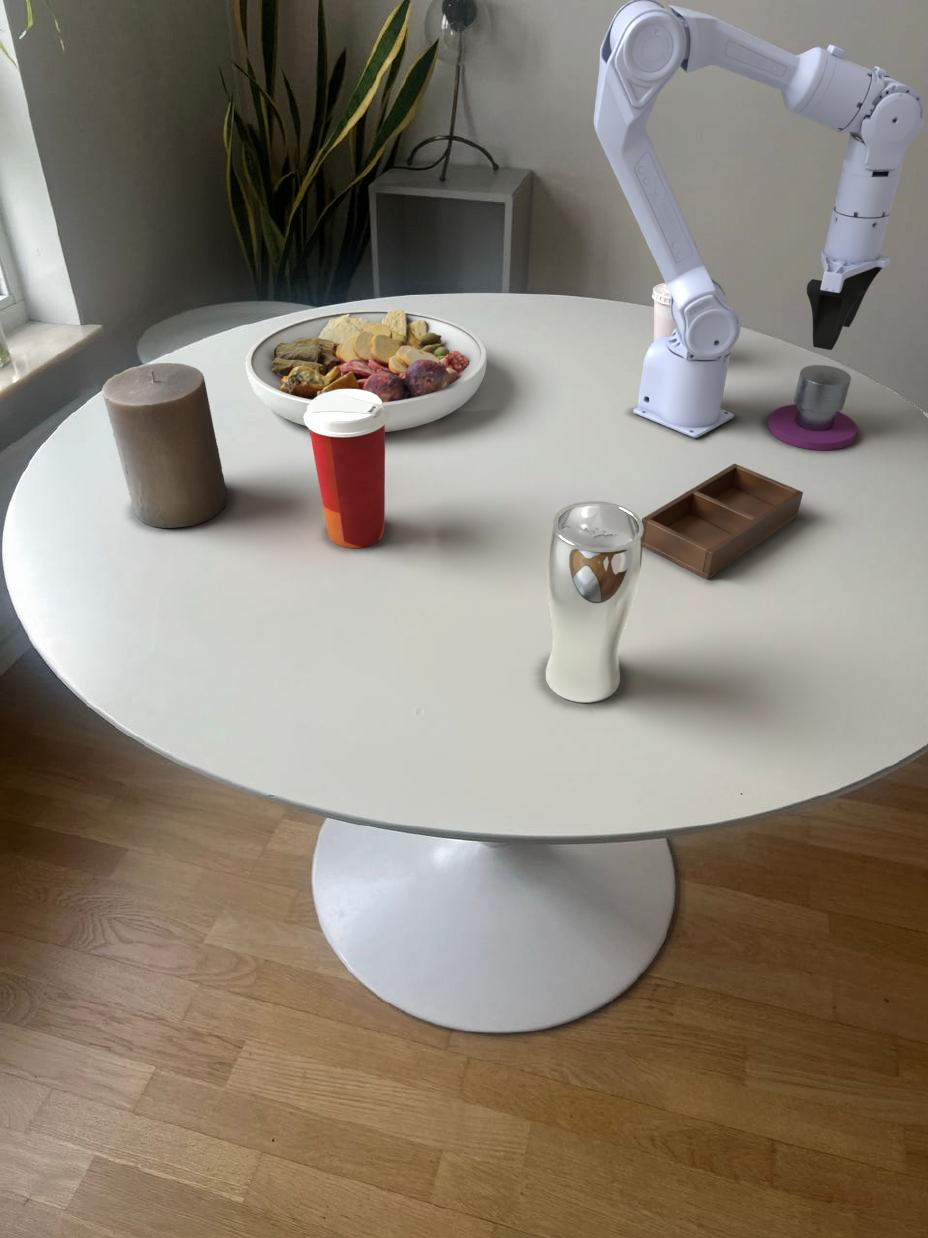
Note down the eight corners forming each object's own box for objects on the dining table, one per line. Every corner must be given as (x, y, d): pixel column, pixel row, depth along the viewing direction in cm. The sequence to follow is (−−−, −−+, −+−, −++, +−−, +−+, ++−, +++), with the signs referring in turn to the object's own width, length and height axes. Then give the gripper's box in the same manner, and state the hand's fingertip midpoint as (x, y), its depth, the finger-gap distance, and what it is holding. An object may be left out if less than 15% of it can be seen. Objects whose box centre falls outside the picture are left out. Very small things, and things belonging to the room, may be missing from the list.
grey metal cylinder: (780, 423, 110) (791, 375, 106) (802, 407, 113) (814, 360, 110) (824, 438, 107) (837, 389, 103) (846, 421, 110) (859, 374, 107)
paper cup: (406, 520, 96) (400, 392, 87) (376, 560, 90) (367, 428, 81) (336, 506, 98) (324, 381, 89) (303, 545, 92) (286, 415, 83)
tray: (638, 544, 92) (641, 518, 90) (729, 487, 101) (734, 462, 99) (707, 579, 87) (712, 553, 86) (797, 517, 96) (803, 491, 94)
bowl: (206, 386, 121) (195, 327, 116) (387, 327, 136) (385, 272, 131) (345, 472, 103) (339, 406, 98) (534, 393, 119) (537, 333, 114)
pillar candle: (245, 504, 98) (222, 369, 89) (163, 541, 93) (129, 401, 83) (196, 471, 103) (169, 341, 94) (115, 504, 98) (78, 369, 89)
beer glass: (534, 652, 79) (543, 501, 70) (615, 648, 80) (634, 497, 70) (546, 710, 74) (558, 553, 64) (633, 704, 74) (657, 548, 65)
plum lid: (751, 429, 111) (752, 421, 110) (795, 403, 116) (797, 396, 116) (827, 459, 105) (829, 451, 105) (870, 430, 111) (873, 423, 110)
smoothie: (691, 372, 124) (708, 265, 115) (642, 368, 125) (655, 262, 116) (691, 353, 129) (708, 249, 120) (645, 350, 130) (657, 246, 121)
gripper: (885, 234, 92) (852, 365, 100) (915, 198, 101) (882, 321, 110) (813, 224, 95) (786, 352, 103) (849, 190, 104) (822, 310, 113)
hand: (832, 335), depth 107 cm, fingers open, 7 cm apart
